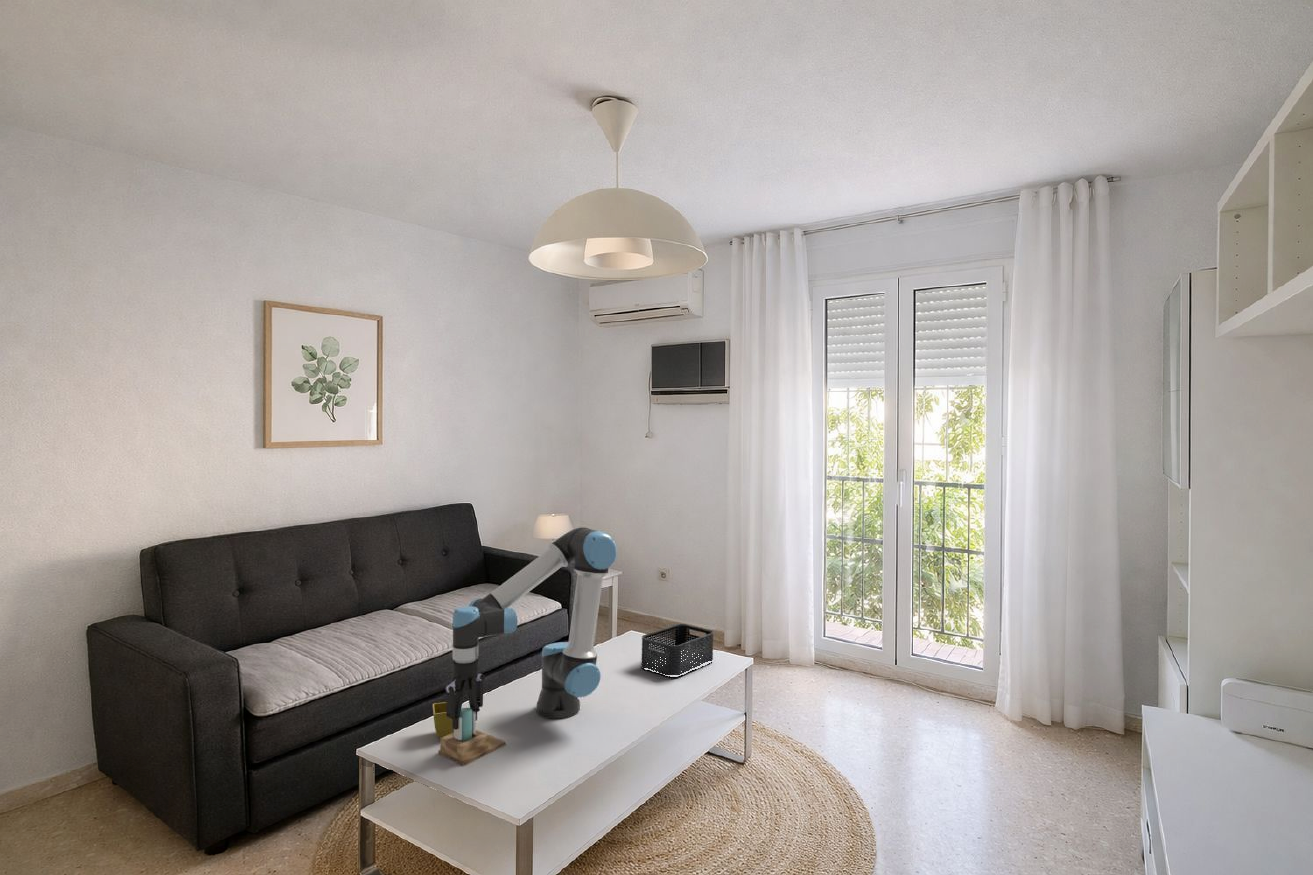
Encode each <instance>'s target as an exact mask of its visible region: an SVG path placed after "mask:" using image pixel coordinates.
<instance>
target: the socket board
mask: <svg viewBox="0 0 1313 875" xmlns="http://www.w3.org/2000/svg"><path fill="white" fill-rule="evenodd" d="M506 745H507V743H506V741H505V740H502V739H499V738H498V737H495V736H492V735H489V734H487V733H484V732H482V731H480V730H477V729H476V733H475V734H472V739H470V740H468V741H466V742H461V741H459V740H458V739H455V738H454V733H451V734H449V735H447V736H444V737H442V738H440V749H439V750H438V751H437V752H438V754H439V755H440V756H443V757H445V758H448V759H449V760H452V761H454V762H456V763H458V764H461V765H462V766H466V765H468V764H470V763H472V762H475V761H476V760H478V759H480V758H482V757H484V756H487V755H489V754H491V753H493V752H495V751H496V750H499V749H501V748H502V747H504V746H506Z"/></svg>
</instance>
